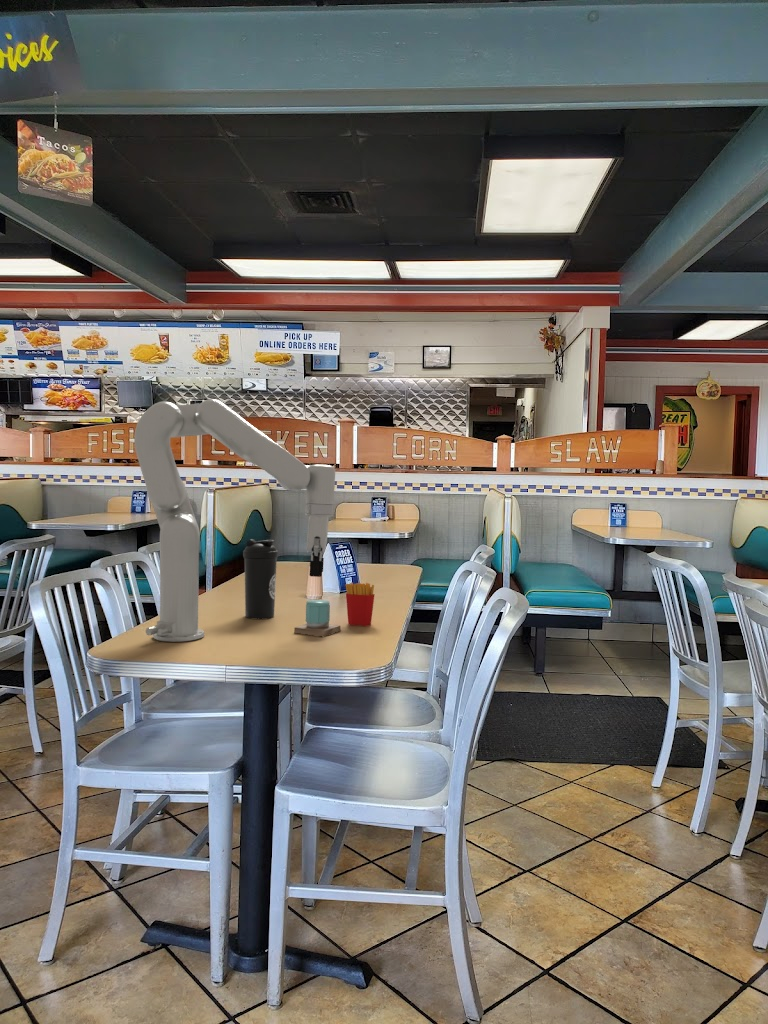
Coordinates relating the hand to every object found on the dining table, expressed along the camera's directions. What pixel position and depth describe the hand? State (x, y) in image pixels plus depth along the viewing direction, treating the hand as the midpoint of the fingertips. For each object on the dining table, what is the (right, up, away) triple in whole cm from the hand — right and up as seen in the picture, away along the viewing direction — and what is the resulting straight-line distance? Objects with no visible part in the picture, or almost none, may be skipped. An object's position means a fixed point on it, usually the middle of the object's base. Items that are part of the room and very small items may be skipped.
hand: (316, 574), depth 191 cm
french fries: (+11, -16, +12) cm, 23 cm away
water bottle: (-19, -15, +21) cm, 32 cm away
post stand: (0, -16, +1) cm, 16 cm away
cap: (0, -13, +1) cm, 13 cm away
